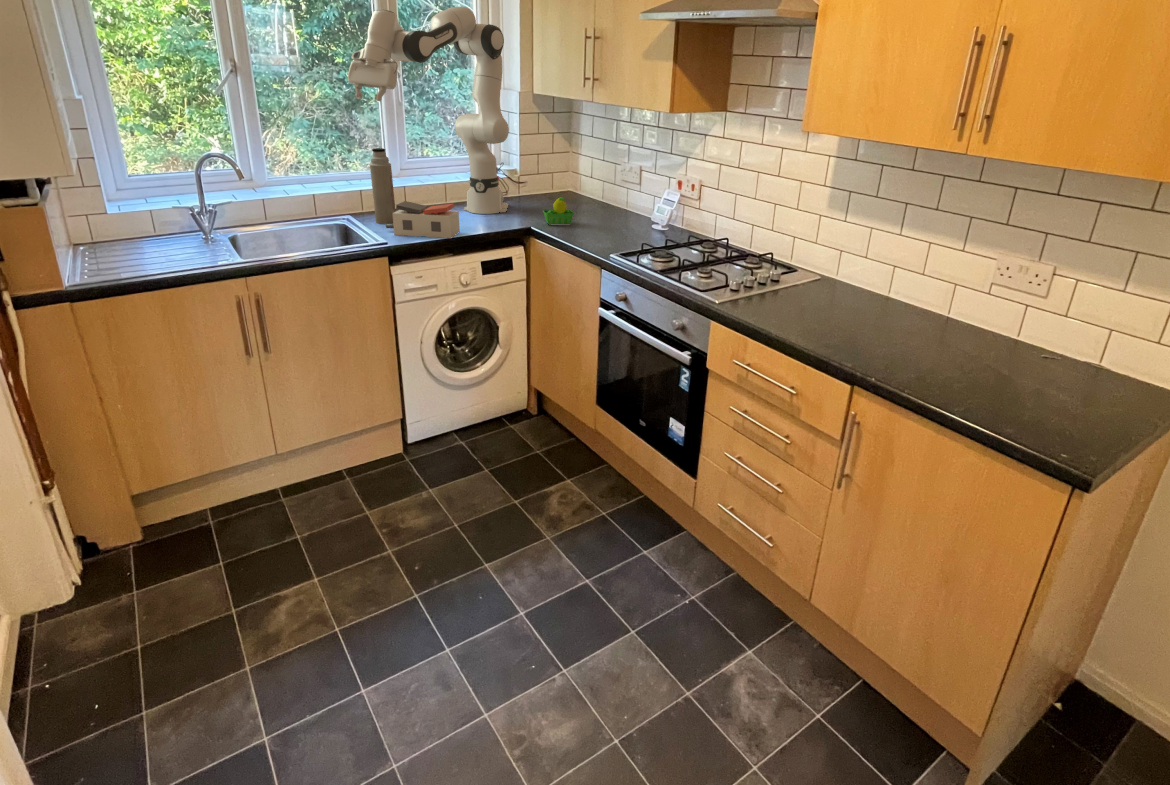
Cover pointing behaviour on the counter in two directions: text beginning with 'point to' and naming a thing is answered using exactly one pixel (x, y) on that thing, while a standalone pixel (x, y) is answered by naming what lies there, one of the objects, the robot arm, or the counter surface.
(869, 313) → the counter surface
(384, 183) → the thermos bottle
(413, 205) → the black rocker
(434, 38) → the robot arm
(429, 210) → the red rocker
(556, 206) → the fruit basket
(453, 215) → the rocker switch box
